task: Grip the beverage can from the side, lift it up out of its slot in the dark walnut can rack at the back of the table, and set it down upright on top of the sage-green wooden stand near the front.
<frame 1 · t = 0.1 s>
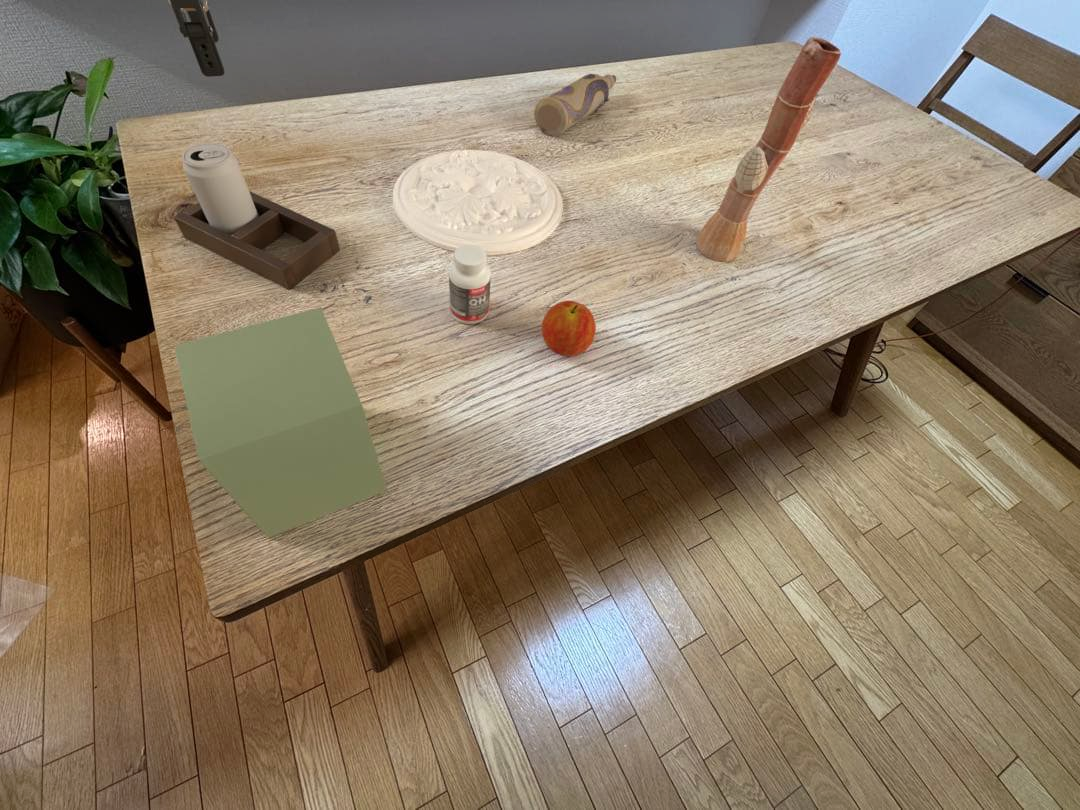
hand: (211, 57, 58), 22 cm above the table, tool pointing down, fingers open, 8 cm apart
pill bottle: (469, 312, 71), on the table
decorative bottle: (581, 117, 107), on the table
stand: (314, 466, 55), on the table
beverage can: (240, 234, 75), resting in can rack
ceiling medallion: (479, 201, 86), on the table
fruit: (564, 348, 69), on the table
can rack: (263, 244, 74), on the table
vase: (721, 247, 86), on the table
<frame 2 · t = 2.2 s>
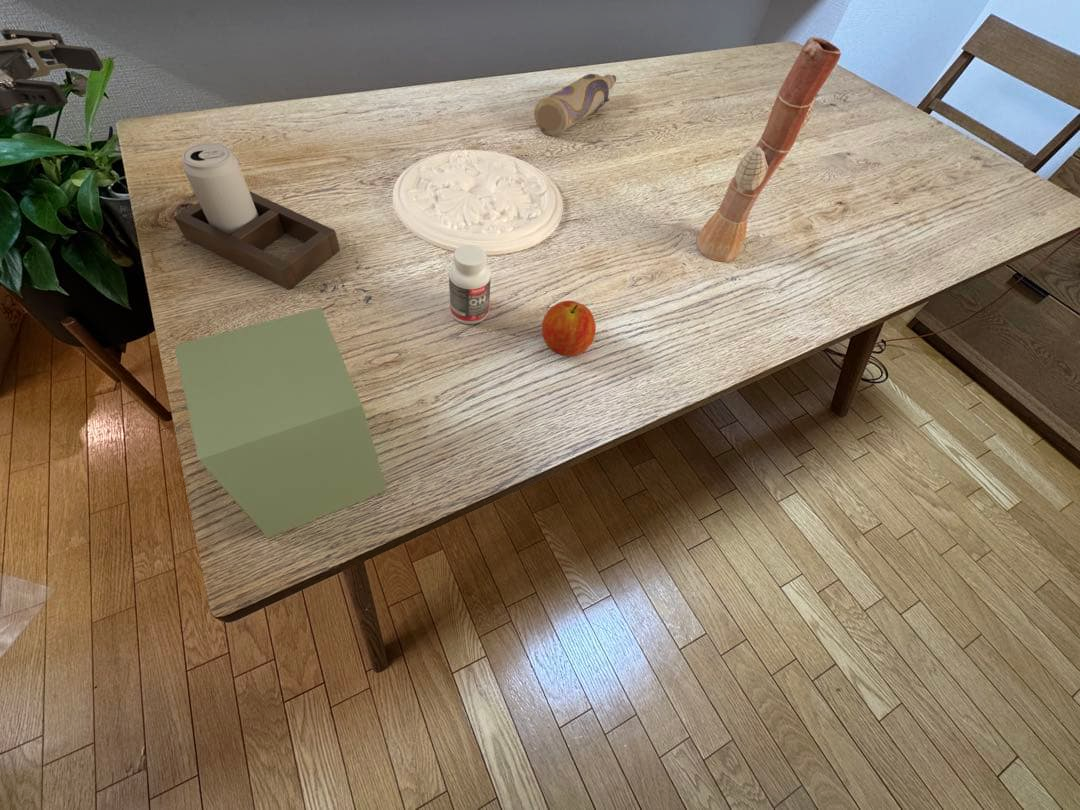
hand: (81, 76, 57), 20 cm above the table, tool horizontal, fingers open, 8 cm apart
nothing on the table moved.
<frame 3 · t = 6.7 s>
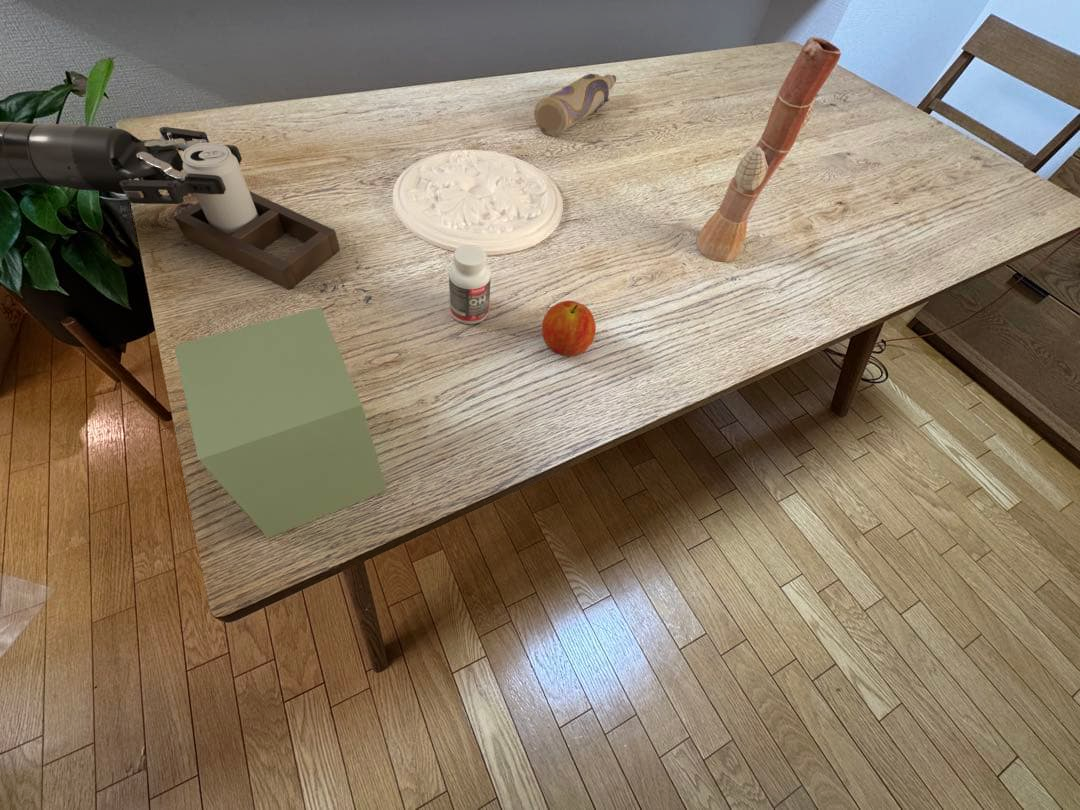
hand: (231, 169, 67), 10 cm above the table, tool horizontal, fingers closed on beverage can, 6 cm apart
beverage can: (240, 234, 75), resting in can rack, touching gripper
everything else where it was.
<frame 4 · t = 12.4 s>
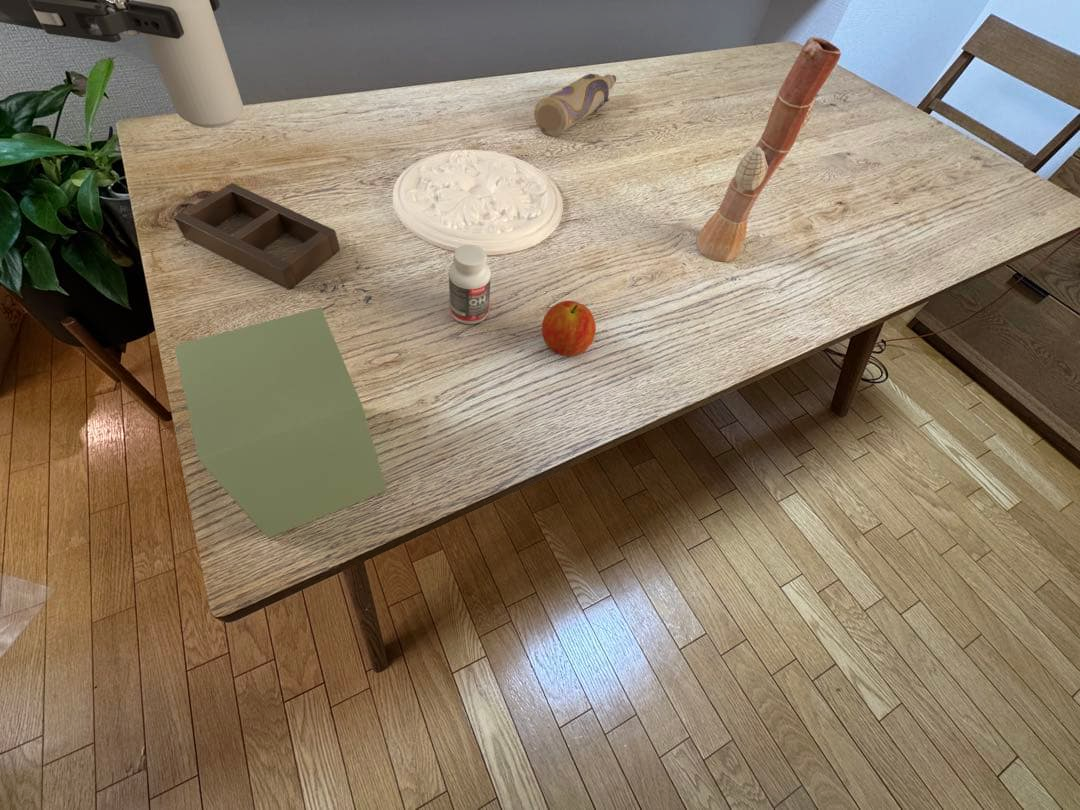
hand: (197, 9, 48), 30 cm above the table, tool horizontal, fingers closed on beverage can, 6 cm apart
beverage can: (214, 118, 56), point 20 cm above the table, touching gripper
everything else where it was.
when the fingers open (26 cm above the table, at t = 18.3 s): beverage can stays where it is, resting on stand.
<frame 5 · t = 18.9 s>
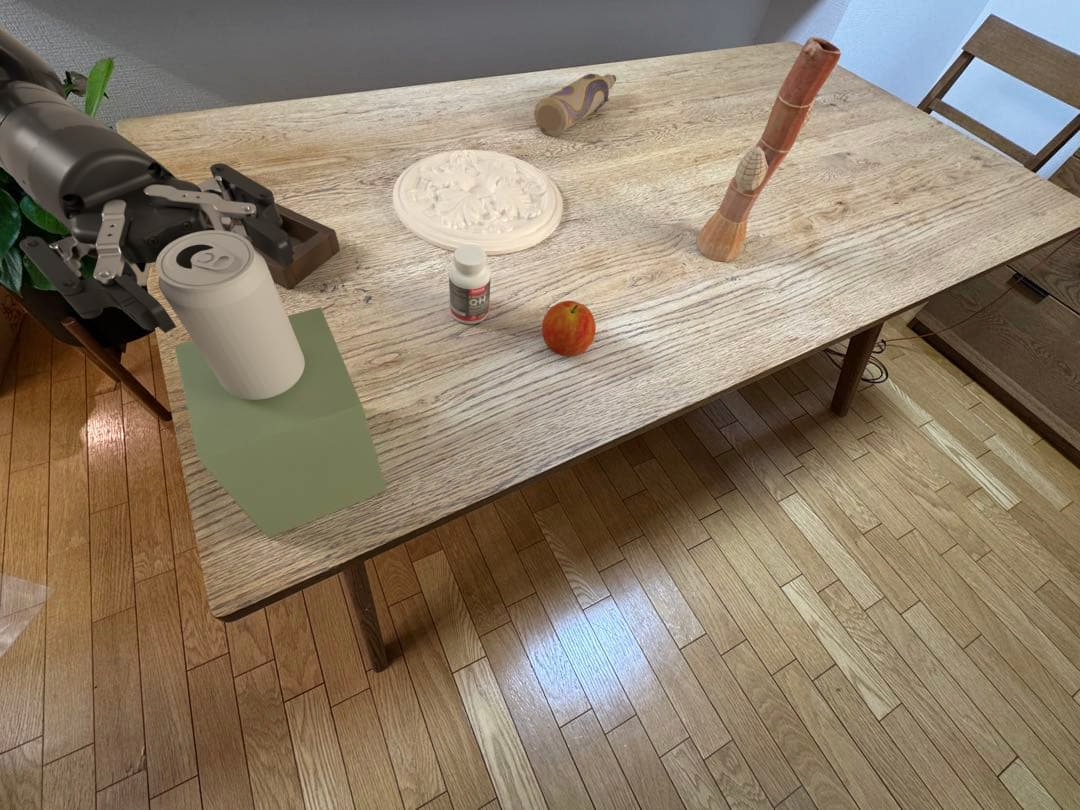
hand: (230, 285, 33), 27 cm above the table, tool horizontal, fingers open, 8 cm apart
beverage can: (267, 375, 42), point 16 cm above the table, touching stand
everything else where it was.
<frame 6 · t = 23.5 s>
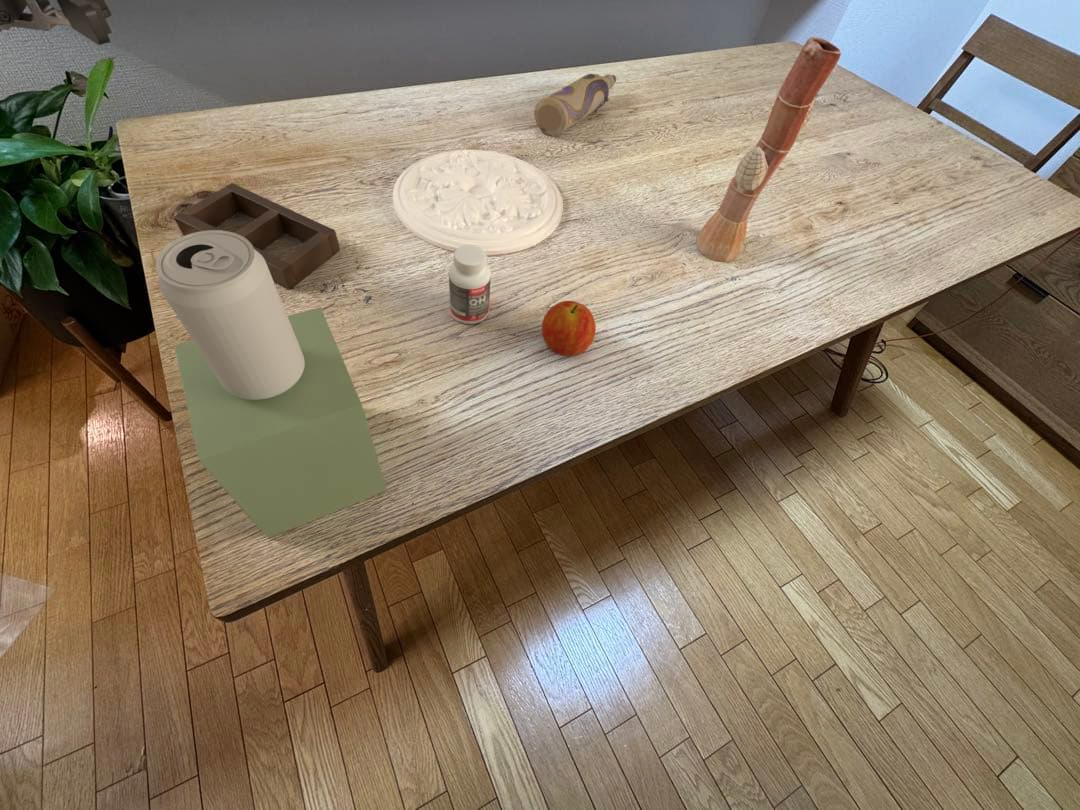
hand: (25, 42, 32), 35 cm above the table, tool horizontal, fingers open, 8 cm apart
nothing on the table moved.
at the end: beverage can inside the target area on the stand (0.1 cm from its centre), point 15.8 cm above the stand's base; beverage can tilted 0°; beverage can touching stand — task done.
